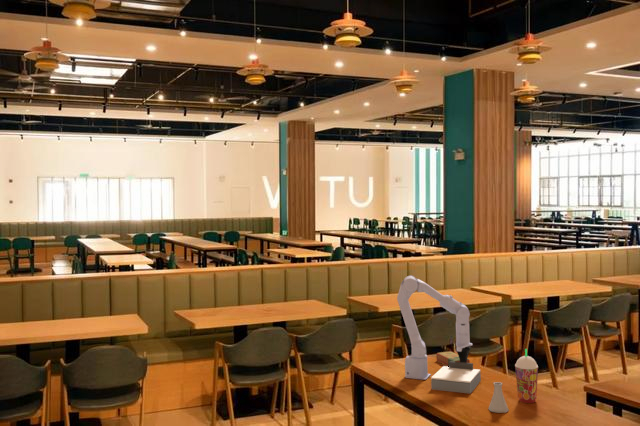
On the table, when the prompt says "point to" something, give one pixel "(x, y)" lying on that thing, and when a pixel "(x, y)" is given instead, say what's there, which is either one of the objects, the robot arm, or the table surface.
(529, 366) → the smoothie
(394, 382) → the table surface
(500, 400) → the flask
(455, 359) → the carton
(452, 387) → the box
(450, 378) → the lid
